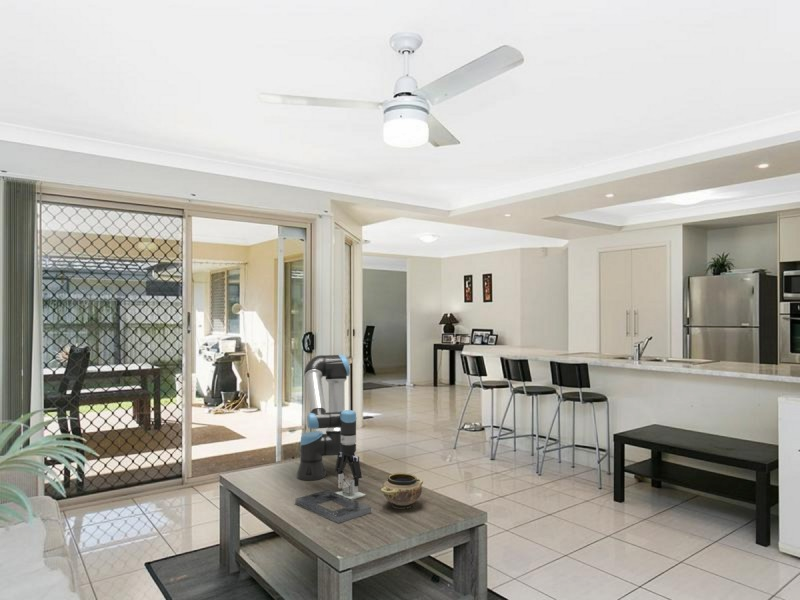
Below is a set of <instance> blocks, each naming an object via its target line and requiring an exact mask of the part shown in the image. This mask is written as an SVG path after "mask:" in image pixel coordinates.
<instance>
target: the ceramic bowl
mask: <svg viewBox="0 0 800 600" xmlns="http://www.w3.org/2000/svg"><path fill="white" fill-rule="evenodd" d="M423 483H424V480H423V479H422V478H419V477H417V476H415V475H413V474H411V473H406V472H405V473H404V472H396V473H392V474H389V475H388V476H387V480H386V481H384V482H383V484H382V487H381V489H380V492H381V493H382V494H383V495H384V497H385V498H386V499H387V500H388V501H389V502H390V503H391V507H393V508H394V509H399V510H406V509H405V508H407V509H409V507H410V508H411V506H413V503H415V502H416V501H417V500H418V499H420V497H421V496H422V492H423V488H422V485H423Z"/></svg>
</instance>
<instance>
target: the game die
mask: <svg viewBox="0 0 800 600" xmlns="http://www.w3.org/2000/svg"><path fill="white" fill-rule="evenodd" d="M340 484H341V487H342V488H340V491H343V493H347V494H349V496H350V494H351V493H352V492H353V478H350V477H347V478H344V481H343V482H342V483H340Z"/></svg>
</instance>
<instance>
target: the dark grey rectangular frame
mask: <svg viewBox="0 0 800 600" xmlns="http://www.w3.org/2000/svg"><path fill="white" fill-rule="evenodd" d="M330 501H333V502H334V503H337V504H339V505H341V506H344V507H343V508H340V509H336V510H332V509H330V508H327V507H325V506H323V505H320V504H323V503H327V502H330ZM296 504H297V506H298V505H299V507H301V508H303V509H306V510H307V511H310V512H312V513H314V514H317V515H318V516H321V517H323V518H324V519H328V520H329V521H332V522H334V523H336V524H340V523H344V522H347V521H349V520H353V519H355V518H358V517H362V516H365V515H368V514H372V506H370V505H367V504H366V503H365V504H364V503H362V502H360V501H358V500H355V499H353V500H352V499H349V498H347V497H344V496H342V495H339V494H336V492H333V491H332V490H328V489H326V490H322V491H319V492H318V491H317V492H315V493H311V494H307V495H305V496H299V497H296V498H295V501H294V505H296Z"/></svg>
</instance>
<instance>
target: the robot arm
mask: <svg viewBox="0 0 800 600" xmlns="http://www.w3.org/2000/svg"><path fill="white" fill-rule="evenodd" d="M350 372H351V371H350V362H349V359H348V357H347V356H346V355H343V354H342V355H341V354H329V355H323V354H322V355H316V356H314V357H313V358H311V359H310V360H309V361H308V362H307V364H306V365H305V368H304V373H303V374H304V375H303V376H304V380H305V381H306V383H307V392H308V401H309V409H310V410H309V411H310V413H307V419H306V421H307V427H308V429H310V430H311V429H313V430H312V431H309V432H305V433H303V434H302V435H301V437H300V443H299V444H300V457H299V461H300V463H299V466H298V468H297V469H298V470H297V472H296V478H297V479H298V480H301V481H318V480H322V479H324V478H325V477H326V469H325V466H324V461H323V457H329V456H337V458H336V459H337V460H336V463H335V468H334V469H335V470H334V471H335V472H336V473H337V480H338V481H337V483H338V489H342V487H341V484H340V483H342V482H343V481H344V479H345V474H344V470H345V468H346V465H348V466H349V468H350V471H351V473H352V479H353V493H357V492H359V483H360V481H359V480H360V479H362V478H363V476H362V470H361V465H360V464H361V463H360V457H359V456H356V455H355V453H356V451H357V412H356V410H351V409H346V410H345V382H346V381H347V377H349V376H350ZM323 377H324V378H325V381H326V382H327V383H328V412H327V410H326V403H325V396H324V389H323V383H322V382H323V381H322V379H323ZM314 429H315V430H314ZM318 429H326V430H325V433H323V431H320V430H318Z"/></svg>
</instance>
